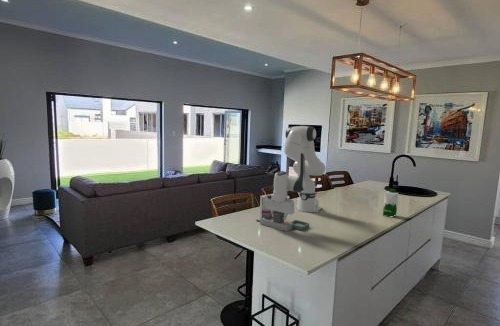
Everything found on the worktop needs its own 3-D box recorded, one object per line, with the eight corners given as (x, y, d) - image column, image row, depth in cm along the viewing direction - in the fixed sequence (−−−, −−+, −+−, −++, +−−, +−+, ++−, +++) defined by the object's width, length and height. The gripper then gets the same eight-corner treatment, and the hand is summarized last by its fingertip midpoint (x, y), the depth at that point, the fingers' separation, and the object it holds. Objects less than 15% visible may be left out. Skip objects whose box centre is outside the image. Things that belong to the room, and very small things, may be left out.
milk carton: (397, 215, 223) (399, 190, 220) (393, 218, 216) (395, 191, 214) (385, 213, 229) (387, 188, 226) (381, 215, 222) (383, 189, 220)
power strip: (253, 222, 195) (253, 214, 194) (259, 219, 200) (259, 211, 200) (286, 231, 179) (287, 222, 179) (292, 228, 185) (292, 220, 184)
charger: (272, 224, 186) (273, 212, 185) (277, 222, 190) (278, 210, 189) (279, 226, 183) (280, 213, 182) (284, 224, 187) (284, 212, 186)
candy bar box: (274, 217, 208) (275, 194, 206) (276, 219, 203) (277, 196, 201) (259, 217, 205) (260, 194, 203) (261, 220, 200) (262, 196, 198)
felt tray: (295, 223, 195) (295, 219, 195) (309, 226, 189) (309, 223, 189) (287, 227, 187) (287, 223, 187) (301, 230, 181) (301, 226, 181)
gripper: (296, 199, 181) (295, 220, 182) (269, 193, 193) (268, 214, 195) (291, 200, 176) (290, 223, 177) (264, 195, 188) (263, 216, 190)
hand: (278, 218), depth 186 cm, fingers open, 7 cm apart
